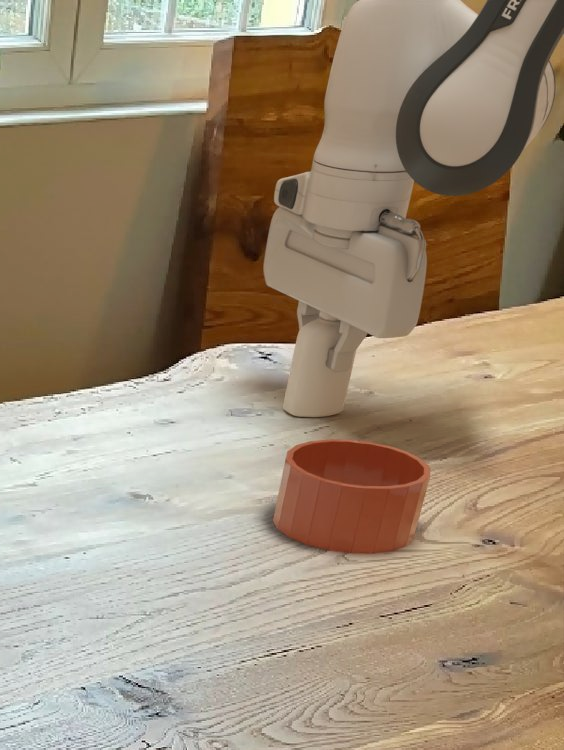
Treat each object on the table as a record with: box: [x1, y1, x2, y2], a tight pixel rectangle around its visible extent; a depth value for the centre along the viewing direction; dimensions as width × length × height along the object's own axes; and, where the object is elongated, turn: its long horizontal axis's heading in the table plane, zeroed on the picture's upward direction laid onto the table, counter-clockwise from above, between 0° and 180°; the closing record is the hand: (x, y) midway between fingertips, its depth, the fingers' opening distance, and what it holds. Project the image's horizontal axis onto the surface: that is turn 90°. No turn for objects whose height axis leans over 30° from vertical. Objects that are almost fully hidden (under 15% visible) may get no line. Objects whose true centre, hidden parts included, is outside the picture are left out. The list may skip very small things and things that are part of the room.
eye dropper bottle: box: [282, 311, 357, 418], centre depth 137 cm, size 4×6×12 cm
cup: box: [272, 438, 431, 555], centre depth 114 cm, size 11×11×6 cm
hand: (322, 362), depth 138 cm, fingers closed on eye dropper bottle, 3 cm apart
